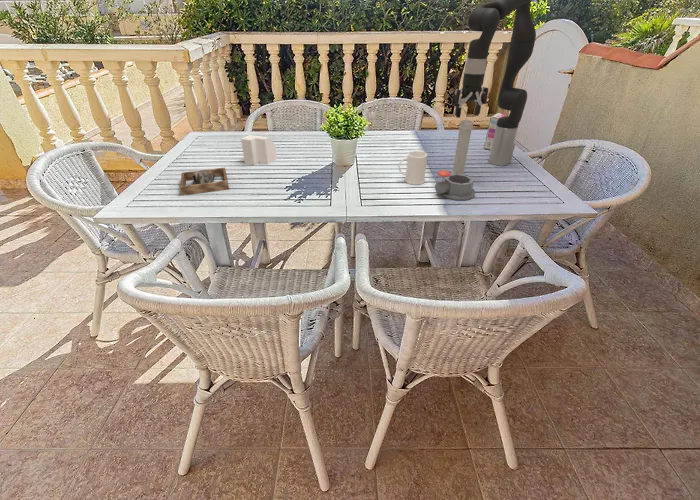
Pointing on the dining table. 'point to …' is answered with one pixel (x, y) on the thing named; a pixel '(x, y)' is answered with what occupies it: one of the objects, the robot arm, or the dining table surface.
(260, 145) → the corner bracket
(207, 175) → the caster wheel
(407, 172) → the mug
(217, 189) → the parts corral
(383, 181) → the dining table surface
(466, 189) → the valve socket
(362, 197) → the dining table surface
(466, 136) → the pipe
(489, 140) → the candy bar box
